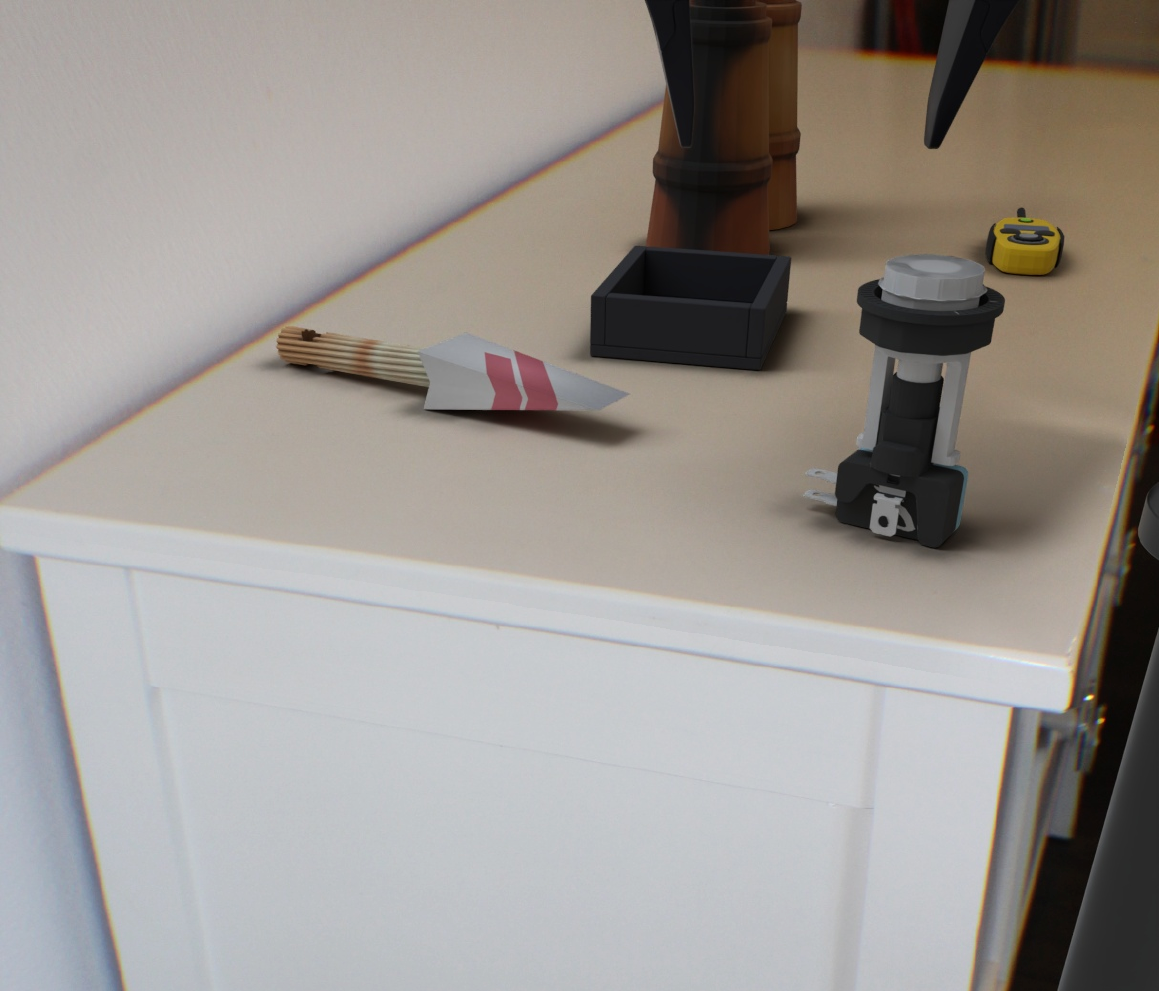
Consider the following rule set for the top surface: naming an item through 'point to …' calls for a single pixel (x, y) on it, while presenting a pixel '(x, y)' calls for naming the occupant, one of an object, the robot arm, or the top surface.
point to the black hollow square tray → (690, 307)
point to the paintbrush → (453, 371)
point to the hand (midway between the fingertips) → (808, 146)
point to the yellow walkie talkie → (1024, 245)
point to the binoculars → (732, 132)
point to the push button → (914, 398)
